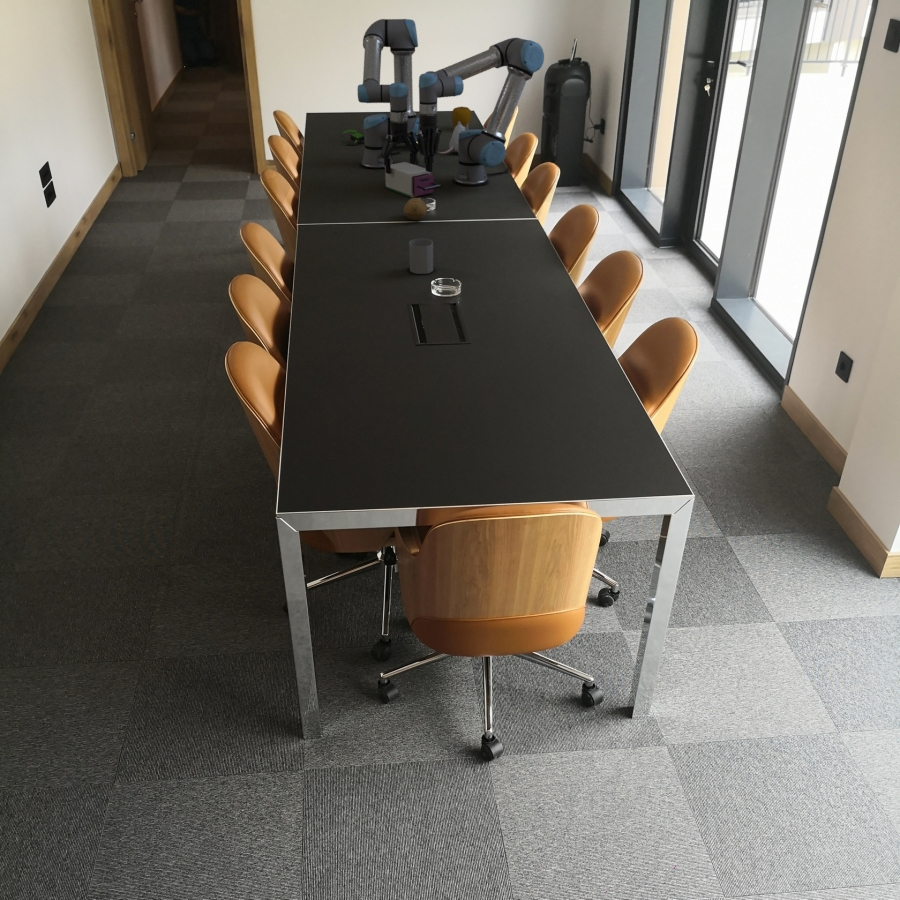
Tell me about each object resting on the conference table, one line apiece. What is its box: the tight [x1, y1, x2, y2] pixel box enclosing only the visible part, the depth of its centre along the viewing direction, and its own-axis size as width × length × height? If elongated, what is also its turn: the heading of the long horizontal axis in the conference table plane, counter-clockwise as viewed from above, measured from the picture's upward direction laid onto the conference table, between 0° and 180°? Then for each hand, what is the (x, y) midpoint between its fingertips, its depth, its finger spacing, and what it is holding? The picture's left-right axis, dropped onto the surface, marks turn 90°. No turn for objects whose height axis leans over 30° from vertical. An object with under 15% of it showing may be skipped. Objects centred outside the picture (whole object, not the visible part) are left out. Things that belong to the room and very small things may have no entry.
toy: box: [437, 121, 470, 155], centre depth 440 cm, size 9×24×15 cm, turn 137°
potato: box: [403, 197, 428, 221], centre depth 354 cm, size 10×14×8 cm
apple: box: [451, 105, 472, 129], centre depth 487 cm, size 11×11×13 cm
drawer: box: [412, 173, 441, 197], centre depth 384 cm, size 23×10×8 cm, turn 39°
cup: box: [408, 237, 434, 275], centre depth 305 cm, size 8×8×10 cm
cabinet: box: [384, 161, 432, 199], centre depth 389 cm, size 19×11×10 cm, turn 39°
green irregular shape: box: [340, 129, 365, 146], centre depth 465 cm, size 6×13×30 cm
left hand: (400, 171), depth 390 cm, fingers open, 13 cm apart
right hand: (429, 171), depth 375 cm, fingers closed
